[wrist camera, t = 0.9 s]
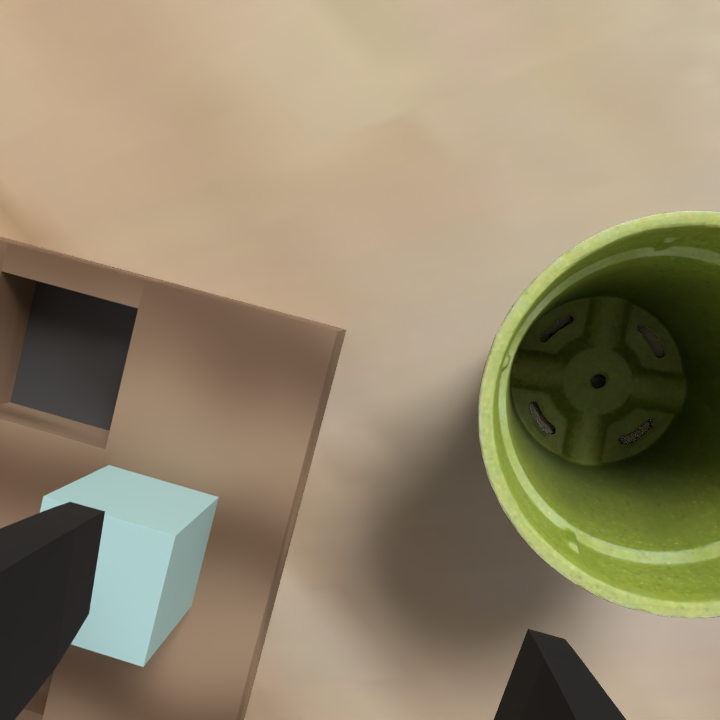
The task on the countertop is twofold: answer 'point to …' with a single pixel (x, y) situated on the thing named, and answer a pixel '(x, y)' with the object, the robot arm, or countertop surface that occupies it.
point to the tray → (162, 454)
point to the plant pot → (616, 415)
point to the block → (139, 558)
